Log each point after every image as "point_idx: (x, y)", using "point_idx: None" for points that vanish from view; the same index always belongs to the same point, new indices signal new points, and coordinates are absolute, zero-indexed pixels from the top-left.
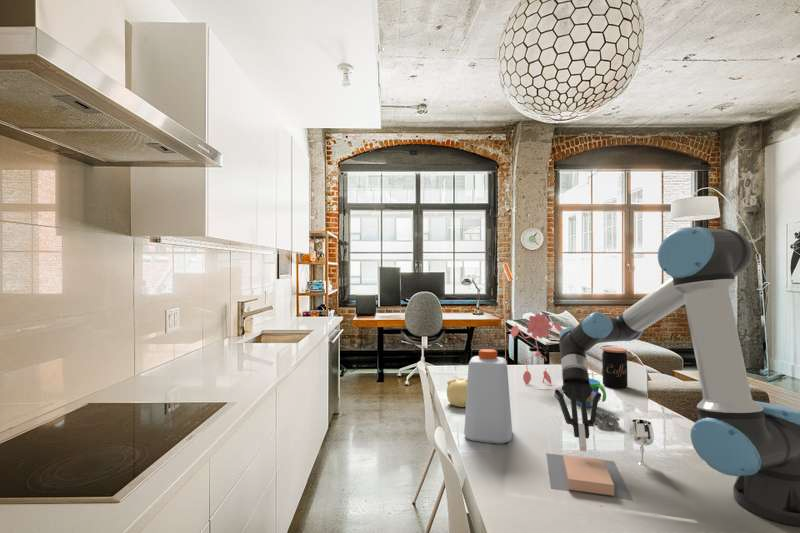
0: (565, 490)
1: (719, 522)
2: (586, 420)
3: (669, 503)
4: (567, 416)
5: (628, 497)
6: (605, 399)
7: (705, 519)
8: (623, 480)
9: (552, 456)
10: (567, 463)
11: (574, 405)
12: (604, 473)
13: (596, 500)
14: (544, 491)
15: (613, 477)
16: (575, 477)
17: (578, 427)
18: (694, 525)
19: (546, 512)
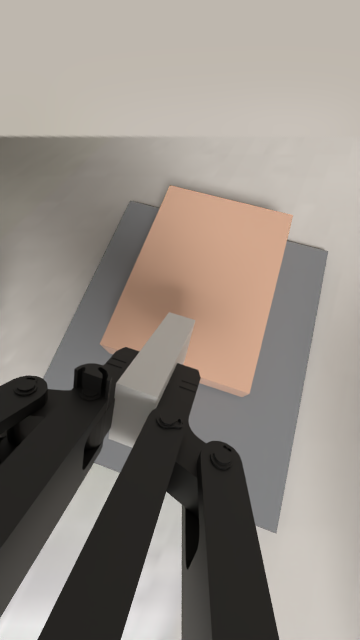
0: (288, 241)
1: (5, 145)
2: (76, 401)
3: (46, 202)
4: (229, 479)
5: (134, 209)
6: None
7: (23, 153)
8: (87, 289)
9: (257, 490)
10: (258, 314)
11: (82, 625)
12: (159, 243)
13: None
14: (343, 254)
15: (106, 306)
16: (266, 222)
17: (163, 391)
18: (64, 138)
19: (356, 174)
